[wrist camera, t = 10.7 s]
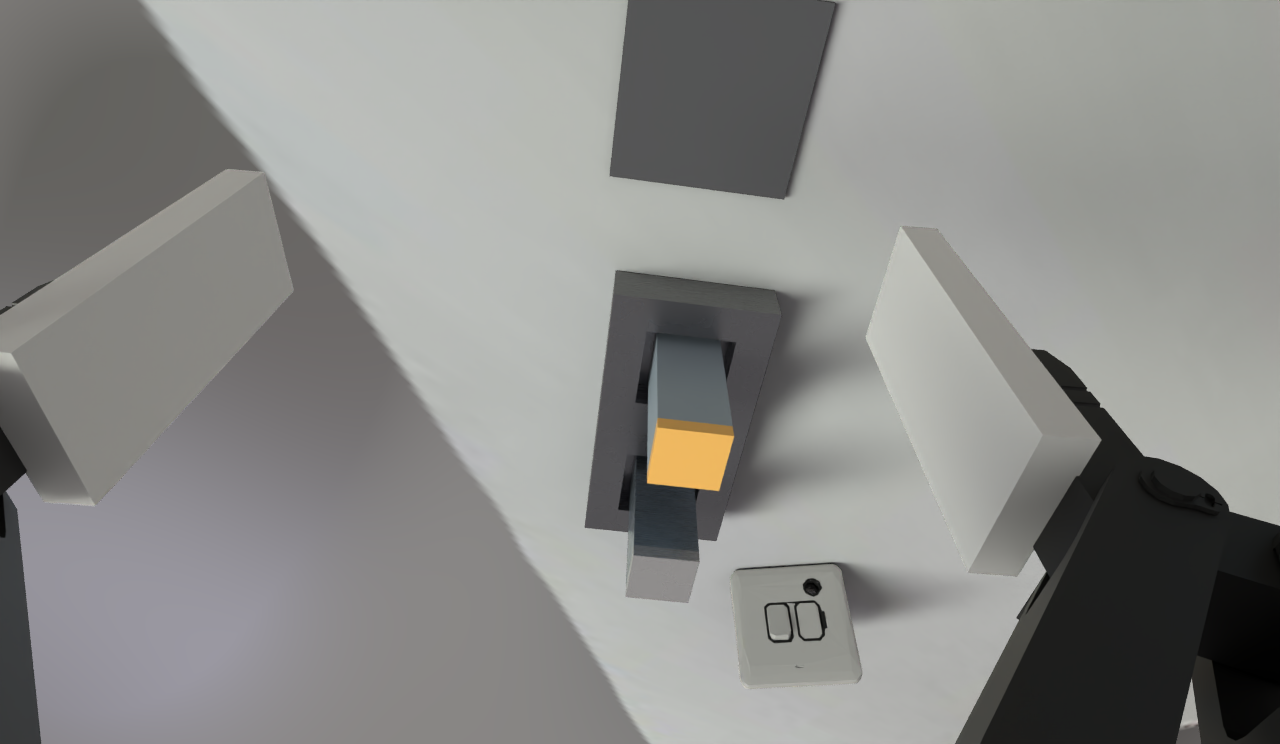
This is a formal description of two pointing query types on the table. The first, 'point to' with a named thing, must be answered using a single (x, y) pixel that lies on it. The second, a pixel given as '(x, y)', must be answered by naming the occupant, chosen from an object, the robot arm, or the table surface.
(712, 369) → the plug
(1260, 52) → the table surface
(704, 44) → the mat
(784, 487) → the table surface
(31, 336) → the robot arm
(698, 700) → the table surface
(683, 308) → the grey block holder
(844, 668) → the electrical switch
